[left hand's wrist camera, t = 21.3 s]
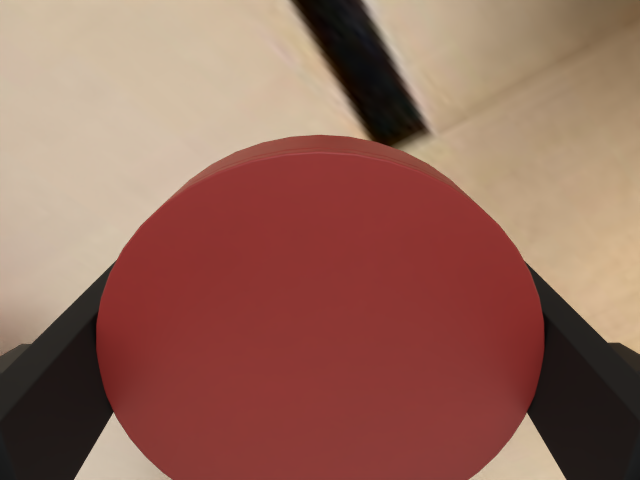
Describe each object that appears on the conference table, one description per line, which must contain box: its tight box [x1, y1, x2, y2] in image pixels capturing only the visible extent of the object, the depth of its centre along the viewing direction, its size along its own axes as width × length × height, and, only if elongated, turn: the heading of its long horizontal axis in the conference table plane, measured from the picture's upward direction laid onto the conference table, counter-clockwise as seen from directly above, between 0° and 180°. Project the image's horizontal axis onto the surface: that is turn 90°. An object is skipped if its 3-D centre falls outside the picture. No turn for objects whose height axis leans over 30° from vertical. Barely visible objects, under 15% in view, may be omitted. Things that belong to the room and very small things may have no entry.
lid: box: [96, 135, 545, 480], centre depth 11 cm, size 10×10×2 cm
